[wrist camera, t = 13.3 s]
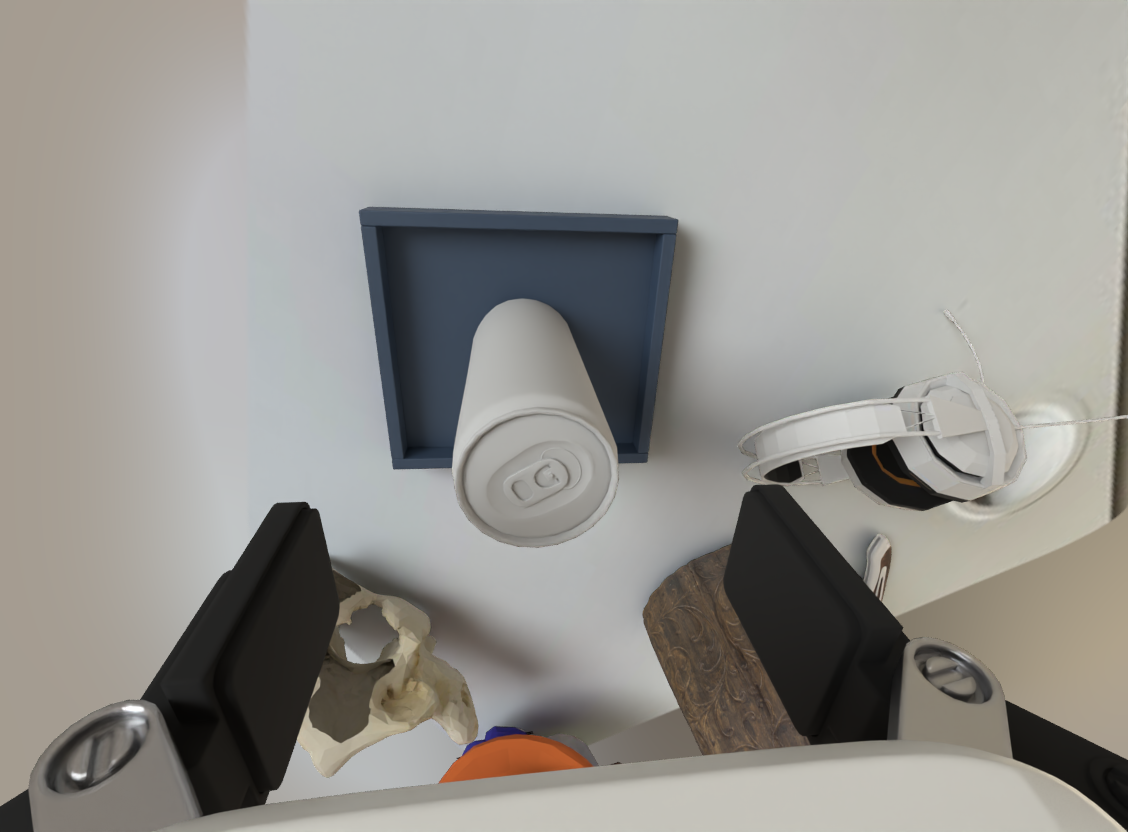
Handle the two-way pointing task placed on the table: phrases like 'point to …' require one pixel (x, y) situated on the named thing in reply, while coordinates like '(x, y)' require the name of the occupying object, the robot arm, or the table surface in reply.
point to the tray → (506, 272)
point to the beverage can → (531, 432)
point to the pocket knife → (878, 565)
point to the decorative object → (382, 686)
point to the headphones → (903, 443)
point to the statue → (715, 663)
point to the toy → (519, 755)
